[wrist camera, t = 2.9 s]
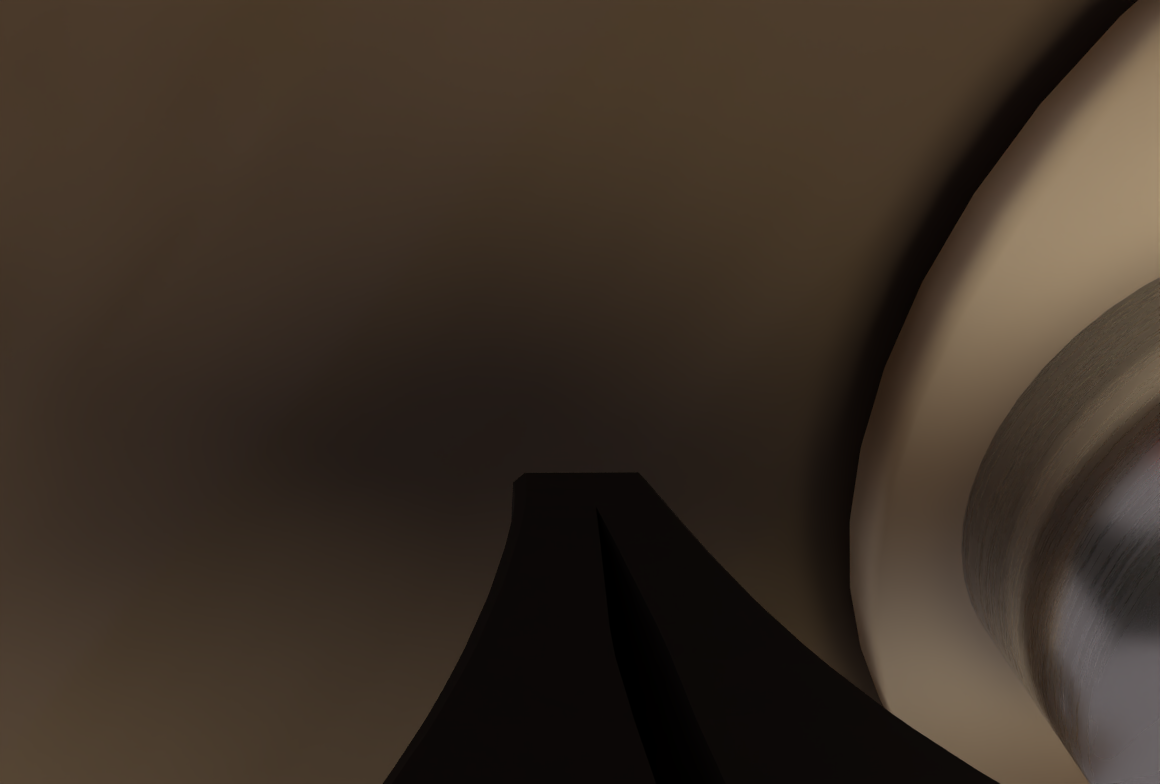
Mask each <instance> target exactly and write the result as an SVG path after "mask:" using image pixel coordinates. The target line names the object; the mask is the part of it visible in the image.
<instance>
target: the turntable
mask: <svg viewBox="0 0 1160 784" xmlns="http://www.w3.org/2000/svg"><path fill="white" fill-rule="evenodd" d="M1159 277H1160V0H1138V1H1137V2H1135V3H1134V4H1133V5H1132V6H1131V7H1130V8H1129V9H1128V10H1127V11H1125V12H1124V13H1123V14H1122V15H1121V16H1120V17H1119V18H1118V19H1117V20H1116V21H1115V23H1114V24H1113V25H1112V26H1111V27H1110V28H1109V29H1108V30H1107V31H1106V32H1105V34H1104V35H1103V36H1102V37H1101V38H1100V39H1099V40H1098V41H1097V42H1096V43H1095V45H1094V46H1093V47H1092V48H1091V49H1090V50H1089V51H1088V52H1087V53H1086V54H1085V56H1084V57H1083V58H1082V59H1081V60H1080V61H1079V62H1078V63H1077V64H1076V65H1075V67H1074V68H1073V69H1072V70H1071V71H1070V72H1069V73H1068V74H1067V75H1066V76H1065V77H1064V79H1063V80H1062V81H1061V82H1060V83H1059V84H1058V85H1057V86H1056V87H1055V88H1054V90H1053V91H1052V92H1051V93H1050V94H1049V95H1048V96H1047V97H1046V98H1045V99H1044V101H1043V102H1042V103H1041V104H1040V105H1039V106H1038V108H1037V109H1036V111H1035V112H1034V113H1033V115H1032V116H1031V117H1030V119H1029V120H1028V121H1027V123H1026V124H1025V125H1024V127H1023V128H1022V129H1021V131H1020V132H1019V134H1018V135H1017V136H1016V138H1015V139H1014V140H1013V142H1012V143H1011V144H1010V146H1009V147H1008V148H1007V150H1006V151H1005V152H1004V154H1003V155H1002V157H1001V158H1000V159H999V161H998V162H997V163H996V165H995V166H994V167H993V169H992V170H991V171H990V173H989V174H988V175H987V177H986V178H985V180H984V181H983V182H982V184H981V185H980V186H979V188H978V189H977V190H976V192H975V193H974V194H973V196H972V198H971V200H970V201H969V203H968V205H967V206H966V208H965V210H964V212H963V213H962V215H961V217H960V218H959V220H958V222H957V224H956V225H955V227H954V229H953V230H952V232H951V234H950V235H949V237H948V239H947V241H946V242H945V244H944V246H943V247H942V249H941V251H940V253H939V254H938V256H937V258H936V259H935V261H934V263H933V265H932V266H931V268H930V270H929V271H928V273H927V275H926V276H925V278H924V280H923V282H922V284H921V286H920V288H919V290H918V293H917V295H916V297H915V299H914V302H913V304H912V306H911V309H910V311H909V313H908V315H907V318H906V320H905V322H904V324H903V327H902V329H901V331H900V334H899V336H898V338H897V340H896V343H895V345H894V347H893V349H892V352H891V354H890V356H889V359H888V361H887V363H886V365H885V368H884V371H883V374H882V378H881V381H880V385H879V388H878V391H877V395H876V398H875V401H874V405H873V408H872V411H871V415H870V418H869V422H868V425H867V428H866V432H865V435H864V438H863V442H862V445H861V450H860V456H859V463H858V469H857V476H856V483H855V489H854V496H853V502H852V509H851V516H850V591H851V596H852V602H853V608H854V614H855V619H856V625H857V631H858V636H859V642H860V647H861V650H862V653H863V655H864V658H865V661H866V664H867V666H868V669H869V672H870V674H871V677H872V680H873V683H874V685H875V688H876V691H877V693H878V696H879V699H880V701H881V703H882V705H883V707H884V708H885V709H886V710H888V711H889V712H891V713H892V714H893V715H895V716H896V717H898V718H899V719H901V720H902V721H903V722H905V723H906V724H908V725H909V726H911V727H912V728H913V729H915V730H916V731H918V732H920V733H921V734H923V735H924V736H926V737H927V738H929V739H930V740H932V741H933V742H935V743H937V744H938V745H940V746H941V747H943V748H944V749H946V750H947V751H949V752H950V753H952V754H954V755H955V756H957V757H958V758H960V759H961V760H963V761H964V762H966V763H967V764H969V765H970V766H972V767H974V768H975V769H977V770H978V771H980V772H982V773H983V774H985V775H987V776H988V777H990V778H992V779H993V780H995V781H997V782H999V783H1000V784H1090V783H1089V782H1088V780H1087V779H1086V777H1085V776H1084V775H1083V773H1082V772H1081V770H1080V769H1079V767H1078V766H1077V764H1076V763H1075V761H1074V760H1073V758H1072V757H1071V755H1070V754H1069V753H1068V751H1067V750H1066V748H1065V747H1064V745H1063V744H1062V742H1061V741H1060V739H1059V738H1058V736H1057V735H1056V733H1055V732H1054V731H1053V729H1052V728H1051V726H1050V725H1049V723H1048V722H1047V720H1046V719H1045V717H1044V716H1043V714H1042V713H1041V711H1040V710H1039V709H1038V707H1037V706H1036V704H1035V703H1034V701H1033V700H1032V698H1031V697H1030V695H1029V694H1028V692H1027V691H1026V689H1025V688H1024V687H1023V685H1022V684H1021V682H1020V681H1019V679H1018V678H1017V676H1016V675H1015V673H1014V672H1013V670H1012V669H1011V667H1010V666H1009V665H1008V663H1007V662H1006V660H1005V659H1004V657H1003V656H1002V654H1001V653H1000V651H999V650H998V648H997V647H996V645H995V644H994V643H993V641H992V640H991V638H990V637H989V635H988V634H987V632H986V631H985V629H984V628H983V626H982V625H981V623H980V621H979V619H978V617H977V615H976V613H975V611H974V609H973V607H972V605H971V602H970V598H969V595H968V591H967V588H966V584H965V581H964V573H963V564H962V554H961V550H962V535H963V522H964V517H965V513H966V508H967V504H968V499H969V494H970V491H971V488H972V486H973V483H974V480H975V477H976V474H977V472H978V469H979V466H980V463H981V461H982V459H983V457H984V455H985V453H986V451H987V449H988V447H989V445H990V443H991V441H992V439H993V437H994V435H995V433H996V432H997V430H998V428H999V427H1000V425H1001V423H1002V422H1003V420H1004V419H1005V417H1006V416H1007V414H1008V413H1009V411H1010V410H1011V408H1012V407H1013V405H1014V404H1015V402H1016V401H1017V399H1018V398H1019V397H1020V395H1021V394H1022V393H1023V392H1024V391H1025V389H1026V388H1027V387H1028V386H1029V384H1030V383H1031V382H1032V381H1033V380H1034V378H1035V377H1036V376H1037V375H1038V374H1039V372H1040V371H1041V370H1042V369H1043V368H1044V366H1045V365H1046V364H1047V363H1048V362H1049V361H1050V360H1051V359H1052V358H1053V357H1054V356H1055V355H1056V354H1058V353H1059V352H1060V351H1061V350H1062V349H1063V348H1064V347H1065V346H1066V345H1067V344H1068V343H1069V342H1070V341H1071V340H1072V339H1073V338H1074V337H1075V336H1076V335H1077V334H1079V333H1080V332H1081V331H1082V330H1083V329H1085V328H1086V327H1087V326H1088V325H1090V324H1091V323H1092V322H1093V321H1095V320H1096V319H1097V318H1098V317H1099V316H1101V315H1102V314H1103V313H1104V312H1106V311H1107V310H1108V309H1110V308H1111V307H1113V306H1114V305H1116V304H1117V303H1119V302H1120V301H1122V300H1123V299H1125V298H1126V297H1128V296H1129V295H1131V294H1132V293H1134V292H1135V291H1137V290H1138V289H1140V288H1141V287H1143V286H1144V285H1146V284H1148V283H1150V282H1152V281H1154V280H1156V279H1157V278H1159Z"/></svg>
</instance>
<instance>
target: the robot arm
mask: <svg viewBox="0 0 1160 784" xmlns="http://www.w3.org/2000/svg"><path fill="white" fill-rule="evenodd" d="M383 784H1000V783H999V782H997V781H995V780H993V779H992V778H990V777H988V776H987V775H985V774H983V773H982V772H980V771H978V770H977V769H975V768H974V767H972V766H970V765H969V764H967V763H966V762H964V761H963V760H961V759H960V758H958V757H957V756H955V755H954V754H952V753H950V752H949V751H947V750H946V749H944V748H943V747H941V746H940V745H938V744H937V743H935V742H933V741H932V740H930V739H929V738H927V737H926V736H924V735H923V734H921V733H920V732H918V731H916V730H915V729H913V728H912V727H911V726H909V725H908V724H906V723H905V722H903V721H902V720H901V719H899V718H898V717H896V716H895V715H893V714H892V713H891V712H889V711H888V710H886V709H885V708H884V707H882V706H881V705H879V704H878V703H877V702H876V701H874V700H873V699H872V698H870V697H869V696H868V695H866V694H865V693H864V692H862V691H861V690H860V689H859V688H857V687H856V686H855V685H853V684H852V683H851V682H849V681H848V680H847V679H846V678H844V677H843V676H842V675H840V674H839V673H838V672H836V671H835V670H834V669H833V668H831V667H830V666H829V665H827V664H826V663H825V662H824V661H823V660H821V659H820V658H819V657H818V656H817V655H815V654H814V653H813V652H812V651H811V650H809V649H808V648H807V647H806V646H805V645H804V644H802V643H801V642H800V641H799V640H798V639H797V638H796V637H795V636H793V635H792V634H791V633H790V632H789V631H788V630H787V629H786V628H785V627H784V626H782V625H781V624H780V623H779V622H778V621H777V620H776V619H775V618H774V617H773V616H771V615H770V614H769V613H768V612H767V611H766V610H765V609H764V608H763V607H762V606H761V605H760V604H759V603H758V602H756V601H755V600H754V599H753V598H752V597H751V596H750V595H749V594H748V593H747V592H746V591H745V589H744V588H743V587H742V586H741V585H740V584H739V583H738V582H737V581H736V580H735V579H734V578H733V577H732V576H731V575H730V574H729V573H728V572H727V571H726V570H725V569H724V568H723V567H722V566H721V565H720V564H719V563H718V562H717V561H716V559H715V558H714V557H713V556H712V555H711V554H710V553H709V552H708V551H707V550H706V549H705V548H704V546H703V545H702V544H701V543H700V542H699V541H698V540H697V539H696V538H695V536H694V535H693V534H692V533H691V532H690V531H689V530H688V529H687V527H686V526H685V525H684V524H683V523H682V522H681V521H680V519H679V518H678V517H677V516H676V515H675V514H674V513H673V511H672V510H671V509H670V508H669V507H668V506H667V504H666V503H665V502H664V501H663V500H662V499H661V497H660V496H659V495H658V494H657V493H656V492H655V490H654V489H653V488H652V487H651V486H650V485H649V484H648V482H647V481H646V480H645V479H644V478H643V477H642V476H641V475H640V474H639V473H638V472H636V473H524V474H523V475H522V476H521V477H519V478H518V479H517V480H516V481H515V482H513V501H512V522H511V526H510V530H509V534H508V538H507V542H506V546H505V549H504V552H503V555H502V558H501V561H500V564H499V567H498V570H497V573H496V576H495V579H494V581H493V584H492V587H491V590H490V592H489V595H488V598H487V600H486V602H485V605H484V607H483V609H482V611H481V613H480V616H479V618H478V620H477V622H476V625H475V627H474V629H473V631H472V633H471V636H470V638H469V640H468V642H467V645H466V647H465V649H464V651H463V653H462V655H461V657H460V659H459V661H458V663H457V665H456V666H455V668H454V670H453V672H452V674H451V676H450V678H449V680H448V681H447V683H446V685H445V687H444V689H443V691H442V692H441V694H440V696H439V697H438V699H437V701H436V703H435V704H434V706H433V708H432V709H431V711H430V713H429V715H428V716H427V718H426V719H425V721H424V723H423V724H422V726H421V727H420V729H419V730H418V732H417V734H416V735H415V737H414V738H413V740H412V741H411V743H410V744H409V746H408V747H407V749H406V750H405V752H404V753H403V755H402V756H401V758H400V759H399V761H398V762H397V764H396V765H395V767H394V768H393V770H392V771H391V773H390V774H389V776H388V777H387V778H386V780H385V781H384V783H383Z"/></svg>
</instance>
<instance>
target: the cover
mask: <svg viewBox="0 0 1160 784" xmlns="http://www.w3.org/2000/svg"><path fill="white" fill-rule="evenodd" d="M961 554H962V564H963V573H964V581H965V584H966V588H967V591H968V595H969V598H970V602H971V605H972V607H973V609H974V611H975V613H976V615H977V617H978V619H979V621H980V623H981V625H982V626H983V628H984V629H985V631H986V632H987V634H988V635H989V637H990V638H991V640H992V641H993V643H994V644H995V645H996V647H997V648H998V650H999V651H1000V653H1001V654H1002V656H1003V657H1004V659H1005V660H1006V662H1007V663H1008V665H1009V666H1010V667H1011V669H1012V670H1013V672H1014V673H1015V675H1016V676H1017V678H1018V679H1019V681H1020V682H1021V684H1022V685H1023V687H1024V688H1025V689H1026V691H1027V692H1028V694H1029V695H1030V697H1031V698H1032V700H1033V701H1034V703H1035V704H1036V706H1037V707H1038V709H1039V710H1040V711H1041V713H1042V714H1043V716H1044V717H1045V719H1046V720H1047V722H1048V723H1049V725H1050V726H1051V728H1052V729H1053V731H1054V732H1055V733H1056V735H1057V736H1058V738H1059V739H1060V741H1061V742H1062V744H1063V745H1064V747H1065V748H1066V750H1067V751H1068V753H1069V754H1070V755H1071V757H1072V758H1073V760H1074V761H1075V763H1076V764H1077V766H1078V767H1079V769H1080V770H1081V772H1082V773H1083V775H1084V776H1085V777H1086V779H1087V780H1088V782H1089V783H1090V784H1160V277H1159V278H1157V279H1156V280H1154V281H1152V282H1150V283H1148V284H1146V285H1144V286H1143V287H1141V288H1140V289H1138V290H1137V291H1135V292H1134V293H1132V294H1131V295H1129V296H1128V297H1126V298H1125V299H1123V300H1122V301H1120V302H1119V303H1117V304H1116V305H1114V306H1113V307H1111V308H1110V309H1108V310H1107V311H1106V312H1104V313H1103V314H1102V315H1101V316H1099V317H1098V318H1097V319H1096V320H1095V321H1093V322H1092V323H1091V324H1090V325H1088V326H1087V327H1086V328H1085V329H1083V330H1082V331H1081V332H1080V333H1079V334H1077V335H1076V336H1075V337H1074V338H1073V339H1072V340H1071V341H1070V342H1069V343H1068V344H1067V345H1066V346H1065V347H1064V348H1063V349H1062V350H1061V351H1060V352H1059V353H1058V354H1056V355H1055V356H1054V357H1053V358H1052V359H1051V360H1050V361H1049V362H1048V363H1047V364H1046V365H1045V366H1044V368H1043V369H1042V370H1041V371H1040V372H1039V374H1038V375H1037V376H1036V377H1035V378H1034V380H1033V381H1032V382H1031V383H1030V384H1029V386H1028V387H1027V388H1026V389H1025V391H1024V392H1023V393H1022V394H1021V395H1020V397H1019V398H1018V399H1017V401H1016V402H1015V404H1014V405H1013V407H1012V408H1011V410H1010V411H1009V413H1008V414H1007V416H1006V417H1005V419H1004V420H1003V422H1002V423H1001V425H1000V427H999V428H998V430H997V432H996V433H995V435H994V437H993V439H992V441H991V443H990V445H989V447H988V449H987V451H986V453H985V455H984V457H983V459H982V461H981V463H980V466H979V469H978V472H977V474H976V477H975V480H974V483H973V486H972V488H971V491H970V494H969V499H968V504H967V508H966V513H965V517H964V522H963V535H962V550H961Z"/></svg>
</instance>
